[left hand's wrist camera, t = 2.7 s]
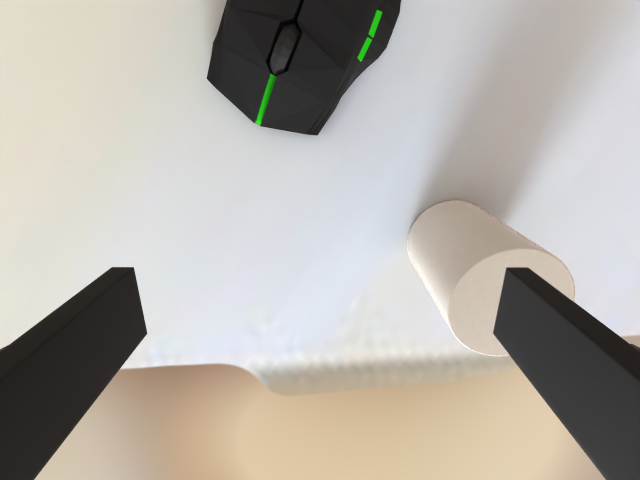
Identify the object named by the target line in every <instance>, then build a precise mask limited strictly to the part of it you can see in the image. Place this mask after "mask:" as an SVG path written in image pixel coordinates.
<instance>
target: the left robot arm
mask: <svg viewBox="0 0 640 480" xmlns="http://www.w3.org/2000/svg"><path fill="white" fill-rule="evenodd" d="M146 334H147V330H146V325H145V320H144V315H143V310H142V306H141V301H140V296H139V291H138V286H137V281H136V276H135V271H134V267H112V268H110V269H109V270H108V271H106V272H105V273H104V274H102V275H101V276H100V277H99V278H97V279H96V280H95V281H93V282H92V283H91V284H89V285H88V286H87V287H85V288H84V289H83V290H81V291H80V292H79V293H77V294H76V295H75V296H73V297H72V298H71V299H69V300H68V301H67V302H65V303H64V304H63V305H61V306H60V307H59V308H57V309H56V310H55V311H53V312H52V313H51V314H50V315H48V316H47V317H46V318H44V319H43V320H42V321H40V322H39V323H38V324H36V325H35V326H34V327H32V328H31V329H30V330H28V331H27V332H26V333H24V334H23V335H22V336H20V337H19V338H18V339H16V340H15V341H14V342H12V343H11V344H10V345H8V346H6V347H4V348H2V349H0V480H34V479H35V478H36V476H37V475H38V474H39V472H40V471H41V470H42V469H43V467H44V466H45V465H46V463H47V462H48V461H49V459H50V458H51V457H52V456H53V454H54V453H55V452H56V451H57V449H58V448H59V447H60V445H61V444H62V443H63V441H64V440H65V439H66V438H67V436H68V435H69V434H70V432H71V431H72V430H73V429H74V427H75V426H76V425H77V423H78V422H79V421H80V420H81V418H82V417H83V416H84V414H85V413H86V412H87V410H88V409H89V408H90V407H91V405H92V404H93V403H94V401H95V400H96V399H97V398H98V396H99V395H100V394H101V392H102V391H103V390H104V388H105V387H106V386H107V385H108V383H109V382H110V381H111V379H112V378H113V377H114V376H115V374H116V373H117V372H118V370H119V369H120V368H121V367H122V365H123V364H124V363H125V361H126V360H127V359H128V358H129V356H130V355H131V354H132V352H133V351H134V350H135V349H136V347H137V346H138V345H139V343H140V342H141V341H142V339H143V338H144V337H145V336H146ZM493 334H494V336H495V337H496V338H497V339H498V341H499V342H500V343H501V345H502V346H503V347H504V349H505V350H506V351H507V352H508V354H509V355H510V356H511V358H512V359H513V360H514V361H515V363H516V364H517V365H518V367H519V368H520V369H521V370H522V372H523V373H524V374H525V376H526V377H527V378H528V380H529V381H530V382H531V383H532V385H533V386H534V387H535V389H536V390H537V391H538V392H539V394H540V395H541V396H542V398H543V399H544V400H545V401H546V403H547V404H548V405H549V407H550V408H551V409H552V411H553V412H554V413H555V414H556V416H557V417H558V418H559V420H560V421H561V422H562V423H563V425H564V426H565V427H566V428H567V430H568V431H569V432H570V434H571V435H572V436H573V438H574V439H575V440H576V441H577V443H578V444H579V445H580V447H581V448H582V449H583V451H584V452H585V453H586V454H587V456H588V457H589V458H590V460H591V461H592V462H593V463H594V465H595V466H596V467H597V469H598V470H599V471H600V472H601V474H602V475H603V476H604V477H605V479H606V480H640V348H639V347H637V346H635V345H633V344H629V343H628V342H626V341H625V340H624V339H622V338H621V337H620V336H618V335H617V334H616V333H614V332H613V331H612V330H610V329H609V328H608V327H606V326H605V325H604V324H602V323H601V322H600V321H598V320H597V319H596V318H594V317H593V316H592V315H590V314H589V313H588V312H587V311H585V310H584V309H583V308H581V307H580V306H579V305H577V304H576V303H575V302H573V301H572V300H571V299H569V298H568V297H567V296H565V295H564V294H563V293H561V292H560V291H559V290H557V289H556V288H555V287H553V286H552V285H551V284H549V283H548V282H547V281H545V280H544V279H543V278H541V277H540V276H539V275H538V274H536V273H535V272H534V271H532V270H531V269H530V268H528V267H506V271H505V276H504V281H503V286H502V291H501V296H500V301H499V306H498V310H497V315H496V320H495V325H494V330H493Z"/></svg>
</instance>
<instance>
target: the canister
mask: <svg viewBox="0 0 640 480" xmlns="http://www.w3.org/2000/svg"><path fill="white" fill-rule="evenodd" d="M407 251H408V255H409V258H410V260H411V262H412V263H413V265H414V267H415V269H416V270H417V272H418V274H419V276H420V277H421V279H422V281H423V282H424V284H425V286H426V288H427V289H428V291H429V293H430V295H431V296H432V298H433V300H434V301H435V303H436V305H437V307H438V308H439V310H440V312H441V314H442V315H443V317H444V319H445V320H446V322H447V324H448V326H449V327H450V329H451V331H452V332H453V334H454V336H455V337H456V338H457V339H458V341H460V342H461V343H462V344H463V345H464V346H466V347H467V348H469V349H471V350H473V351H475V352H478V353H481V354H484V355H489V356H509V354H508V352H507V351H506V350H505V349H504V347H503V346H502V345H501V343H500V342H499V341H498V339H497V338H496V337H495V336H494V334H493V330H494V325H495V320H496V315H497V310H498V306H499V301H500V296H501V291H502V286H503V281H504V276H505V271H506V267H528V268H530V269H531V270H532V271H534V272H535V273H536V274H538V275H539V276H540V277H541V278H543V279H544V280H545V281H547V282H548V283H549V284H551V285H552V286H553V287H555V288H556V289H557V290H559V291H560V292H561V293H563V294H564V295H565V296H567V297H568V298H569V299H571V300H572V301H573V302H574V296H575V287H574V282H573V278H572V276H571V273H570V272H569V270H568V268H567V267H566V266H565V264H564V263H563V262H562V261H561V260H559V259H558V258H557V257H556V256H554V255H553V254H551V253H549V252H548V251H546V250H545V249H543V248H542V247H540V246H539V245H537V244H535V243H534V242H532V241H531V240H529V239H528V238H526V237H525V236H523V235H521V234H520V233H518V232H517V231H515V230H514V229H512V228H511V227H509V226H508V225H506V224H504V223H503V222H501V221H500V220H498V219H497V218H495V217H494V216H492V215H490V214H489V213H487V212H486V211H484V210H483V209H481V208H480V207H478V206H476V205H474V204H472V203H470V202H467V201H462V200H450V201H444V202H441V203H438V204H436V205H433V206H432V207H430V208H428V209H427V210H425V211H424V212H423V213H422V214H421V215H420V216H419V217H418V218H417V219H416V220H415V222H414V223H413V225H412V227H411V229H410V232H409V235H408V239H407Z"/></svg>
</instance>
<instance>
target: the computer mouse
mask: <svg viewBox="0 0 640 480" xmlns="http://www.w3.org/2000/svg"><path fill="white" fill-rule="evenodd" d="M400 3H401V0H227V2H226V6H225V9H224V13H223V16H222V19H221V23H220V26H219V30H218V33H217V36H216V38H215V40H214V42H213V49H212V56H211V61H210V66H209V70H208V75H207V79H208V80H209V81H210V82H211V84H212V85H213V86H214V87H215V88H216V89H218V90H219V91H220V92H221V93H222V94H223V95H224V96H225V97H226V98H227V99H229V100H230V101H231V102H232V103H233V104H234V105H235V106H236V107H237V108H238V109H239V110H241V111H242V112H243V113H244V114H245V115H246V116H247V117H248V118H249V119H250V120H252V121H253V122H254V123H256V124H258V125H260V126H263V127H269V128H274V129H280V130H285V131H291V132H297V133H302V134H308V135H318V134H319V132H320V131H321V129H322V128H323V126H324V125H325V123H326V122H327V120H328V119H329V117H330V116H331V114H332V113H333V111H334V110H335V108H336V106H337V104H338V102H339V100H340V98H341V97H342V95H343V94H344V93H345V92H346V90H347V89H348V88H349V87H350V85H351V84H352V83H353V82H354V80H355V79H356V78H357V77H358V76H359V75H360V74H361V73H362V72H363V71H364V70H365V69H366V68H367V67H368V66H369V65H371V64H372V63H373V62H374V61H375V60H376V59H377V58H378V57H379V56H380V55H381V54H382V52H383V51H384V50H385V48H386V47H387V44H388V41H389V39H390V36H391V34H392V31H393V29H394V26H395V23H396V21H397V18H398V15H399V12H400Z"/></svg>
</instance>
